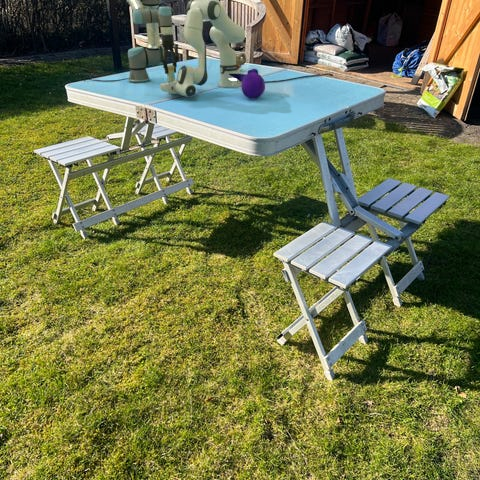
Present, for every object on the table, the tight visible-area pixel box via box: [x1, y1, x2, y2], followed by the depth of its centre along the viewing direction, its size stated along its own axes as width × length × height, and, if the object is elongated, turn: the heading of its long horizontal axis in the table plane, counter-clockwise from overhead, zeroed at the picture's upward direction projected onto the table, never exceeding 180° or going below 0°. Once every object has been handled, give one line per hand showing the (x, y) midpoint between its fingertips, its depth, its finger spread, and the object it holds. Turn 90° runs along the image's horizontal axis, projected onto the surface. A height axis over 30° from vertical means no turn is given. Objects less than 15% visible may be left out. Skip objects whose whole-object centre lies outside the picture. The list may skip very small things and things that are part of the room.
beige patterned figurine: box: [236, 52, 247, 70], centre depth 365 cm, size 21×12×15 cm, turn 120°
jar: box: [166, 69, 176, 96], centre depth 296 cm, size 5×5×17 cm
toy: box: [229, 68, 266, 100], centre depth 284 cm, size 16×18×27 cm
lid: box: [167, 64, 175, 70], centre depth 292 cm, size 6×6×2 cm
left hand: (170, 72), depth 294 cm, fingers closed on lid, 5 cm apart
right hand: (171, 83), depth 298 cm, fingers closed on jar, 5 cm apart
